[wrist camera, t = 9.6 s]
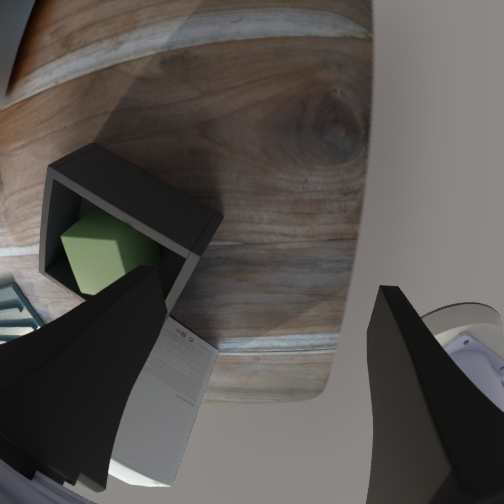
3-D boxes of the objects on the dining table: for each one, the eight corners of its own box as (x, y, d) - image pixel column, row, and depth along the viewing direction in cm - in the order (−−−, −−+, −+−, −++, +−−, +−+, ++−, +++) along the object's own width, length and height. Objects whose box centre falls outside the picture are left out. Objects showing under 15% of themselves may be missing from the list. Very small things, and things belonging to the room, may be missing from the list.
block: (162, 262, 22) (134, 303, 18) (112, 256, 22) (81, 293, 19) (151, 204, 19) (116, 239, 16) (98, 203, 20) (59, 235, 16)
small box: (161, 307, 25) (87, 445, 14) (221, 350, 26) (175, 489, 16) (126, 343, 29) (68, 451, 18) (177, 378, 31) (133, 486, 20)
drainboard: (15, 282, 29) (8, 289, 27) (70, 355, 34) (65, 363, 33) (-30, 295, 35) (-35, 300, 34) (10, 349, 41) (6, 354, 39)
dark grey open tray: (224, 216, 19) (201, 256, 16) (174, 304, 24) (152, 345, 21) (92, 141, 18) (47, 164, 14) (71, 240, 23) (38, 272, 19)
